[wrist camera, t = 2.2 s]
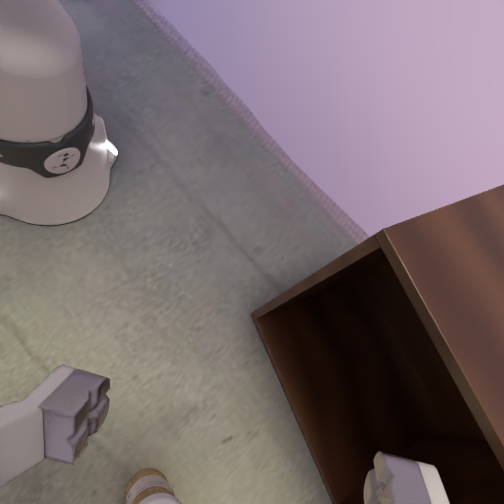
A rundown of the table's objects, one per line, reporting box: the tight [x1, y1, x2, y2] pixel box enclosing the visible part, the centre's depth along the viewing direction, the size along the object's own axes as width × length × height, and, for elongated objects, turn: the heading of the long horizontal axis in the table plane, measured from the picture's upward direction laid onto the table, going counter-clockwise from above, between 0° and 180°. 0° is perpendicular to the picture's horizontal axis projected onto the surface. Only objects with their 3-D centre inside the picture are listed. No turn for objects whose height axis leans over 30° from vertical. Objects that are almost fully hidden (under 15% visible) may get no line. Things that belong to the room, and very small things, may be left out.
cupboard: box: [251, 185, 504, 504], centre depth 37 cm, size 18×26×28 cm
